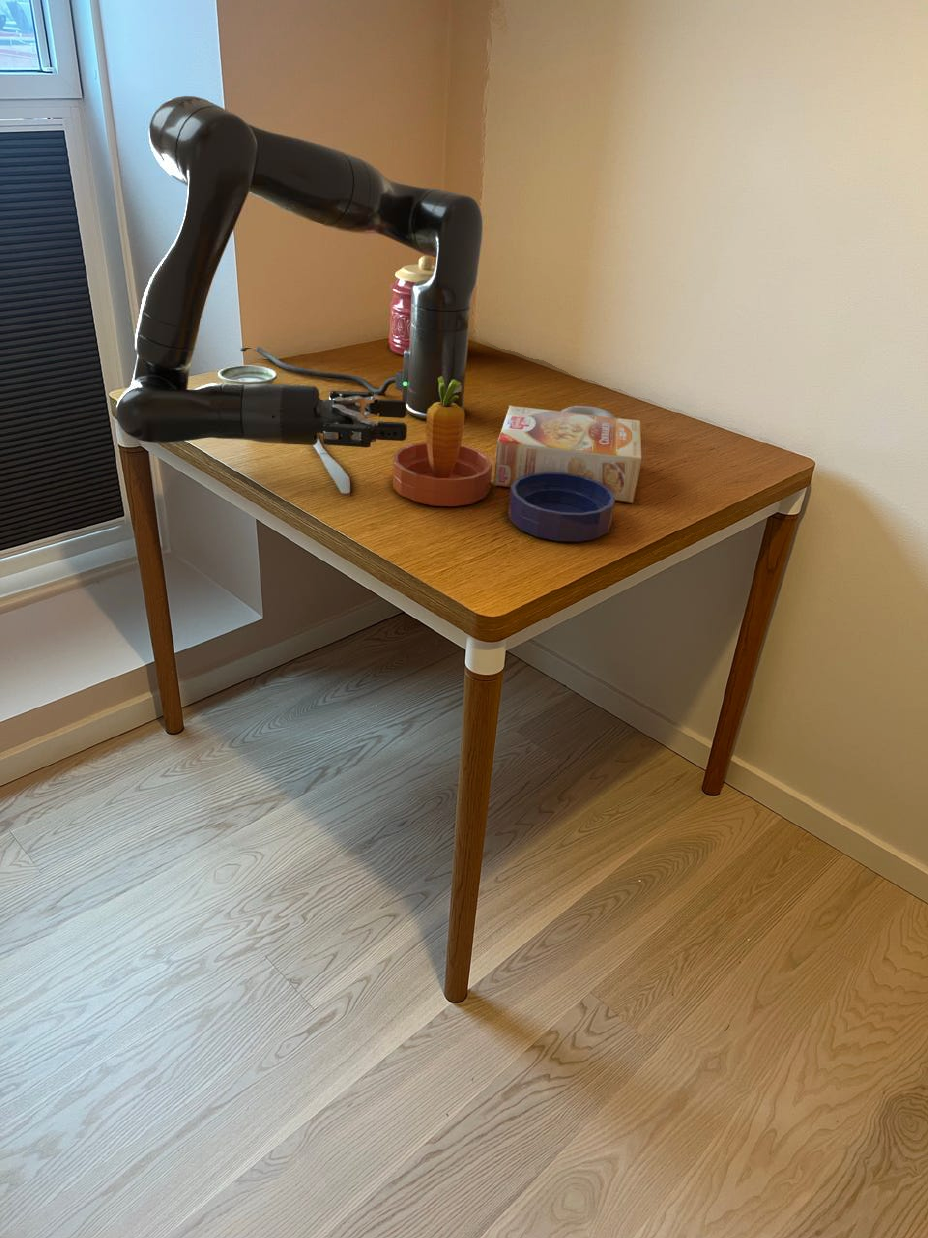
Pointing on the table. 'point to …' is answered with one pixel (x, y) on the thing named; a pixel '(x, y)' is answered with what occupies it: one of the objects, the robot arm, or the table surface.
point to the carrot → (444, 431)
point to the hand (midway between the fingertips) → (406, 420)
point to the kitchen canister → (405, 302)
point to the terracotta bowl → (423, 487)
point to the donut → (588, 411)
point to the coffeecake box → (569, 448)
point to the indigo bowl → (561, 506)
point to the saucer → (247, 375)
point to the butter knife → (334, 469)
